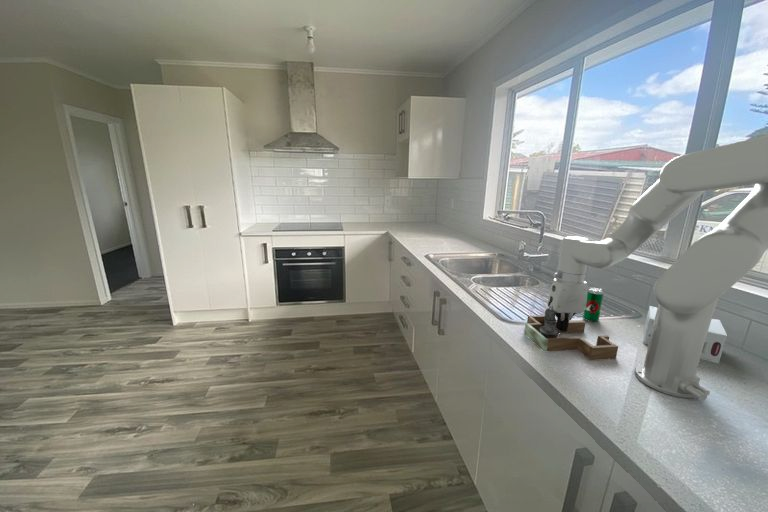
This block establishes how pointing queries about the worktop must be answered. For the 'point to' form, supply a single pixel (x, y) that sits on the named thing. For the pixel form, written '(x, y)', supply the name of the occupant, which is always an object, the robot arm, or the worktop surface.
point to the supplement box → (712, 342)
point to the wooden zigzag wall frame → (570, 340)
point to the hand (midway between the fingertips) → (561, 329)
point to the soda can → (593, 304)
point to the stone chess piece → (549, 325)
